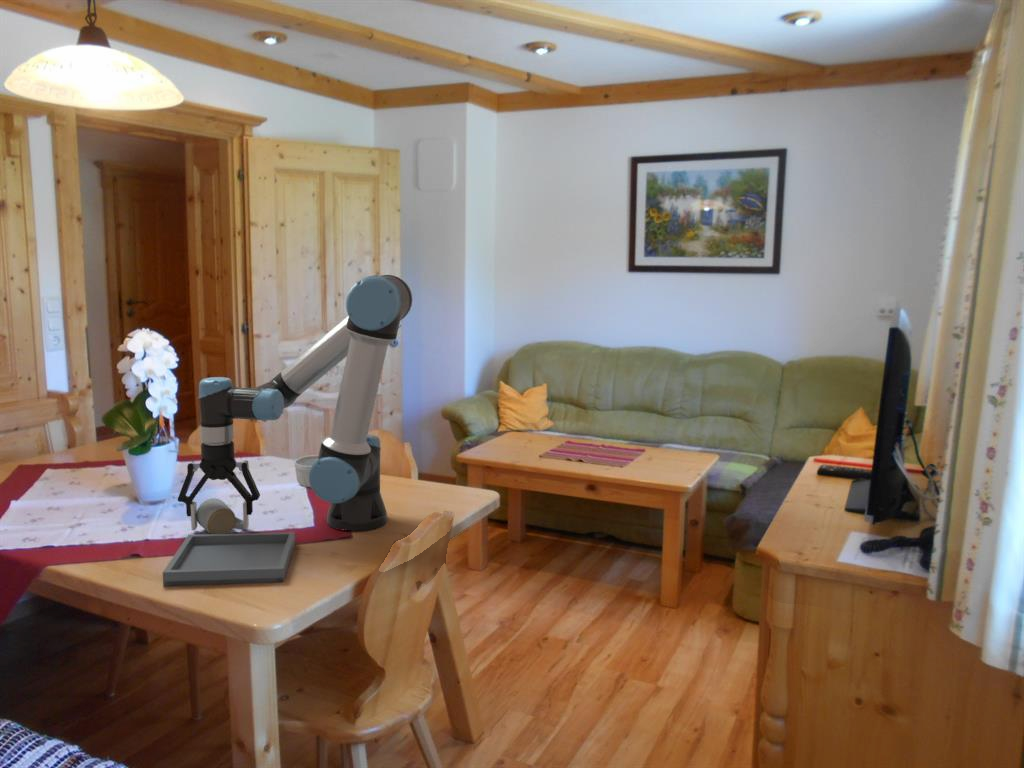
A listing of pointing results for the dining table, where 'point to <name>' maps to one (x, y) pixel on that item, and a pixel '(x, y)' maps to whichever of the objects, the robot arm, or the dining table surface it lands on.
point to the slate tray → (230, 559)
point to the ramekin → (304, 469)
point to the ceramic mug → (217, 517)
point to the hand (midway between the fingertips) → (220, 527)
